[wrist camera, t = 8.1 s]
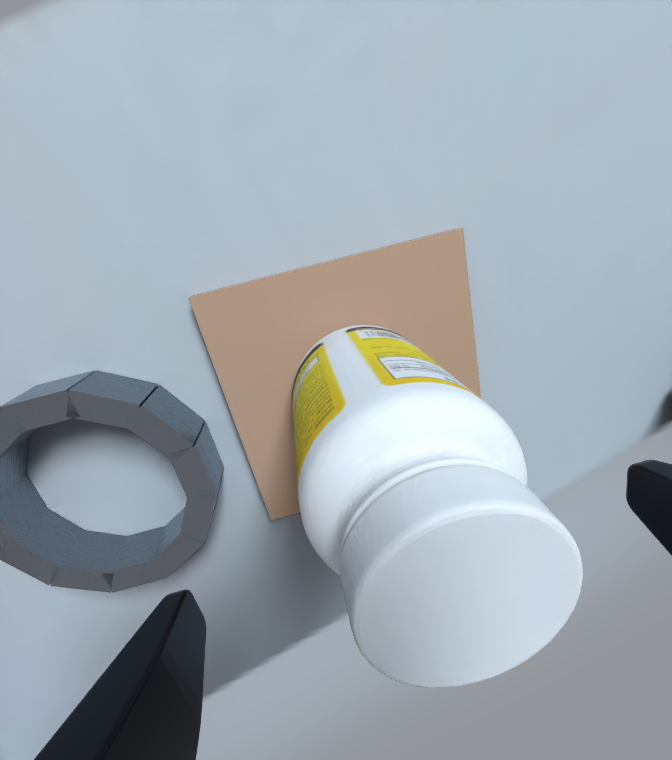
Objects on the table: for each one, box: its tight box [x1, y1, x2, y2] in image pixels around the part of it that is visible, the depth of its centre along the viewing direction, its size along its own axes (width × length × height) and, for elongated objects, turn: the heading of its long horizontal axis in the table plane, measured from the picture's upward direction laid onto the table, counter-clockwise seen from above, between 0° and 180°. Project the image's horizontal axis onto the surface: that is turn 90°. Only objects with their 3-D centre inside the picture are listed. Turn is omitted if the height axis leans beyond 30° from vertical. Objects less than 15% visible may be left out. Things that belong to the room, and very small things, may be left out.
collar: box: [0, 371, 224, 592], centre depth 15 cm, size 8×8×2 cm
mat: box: [189, 228, 481, 521], centre depth 16 cm, size 10×10×1 cm
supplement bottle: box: [292, 325, 583, 688], centre depth 11 cm, size 5×5×10 cm
